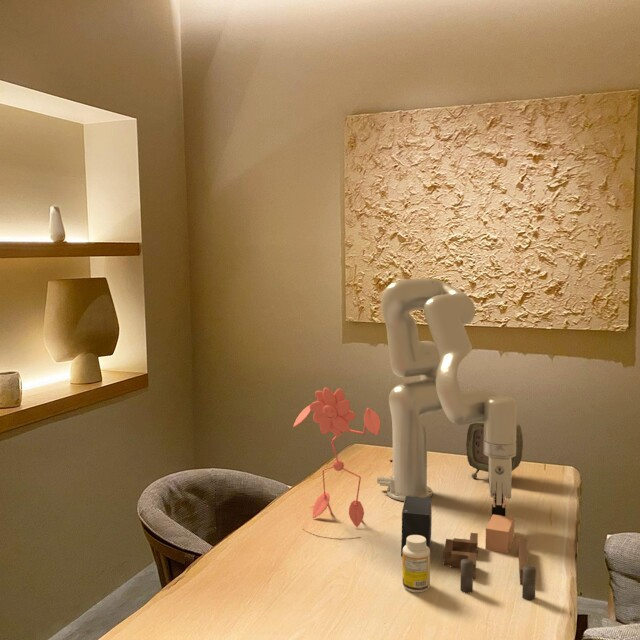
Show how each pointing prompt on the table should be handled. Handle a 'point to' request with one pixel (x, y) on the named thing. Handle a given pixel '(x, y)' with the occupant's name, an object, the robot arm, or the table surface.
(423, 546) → the supplement bottle
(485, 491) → the table surface
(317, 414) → the figurine
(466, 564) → the brown notched pieces
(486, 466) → the tabletop clock
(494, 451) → the robot arm
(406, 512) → the small box
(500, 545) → the block
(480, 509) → the table surface
